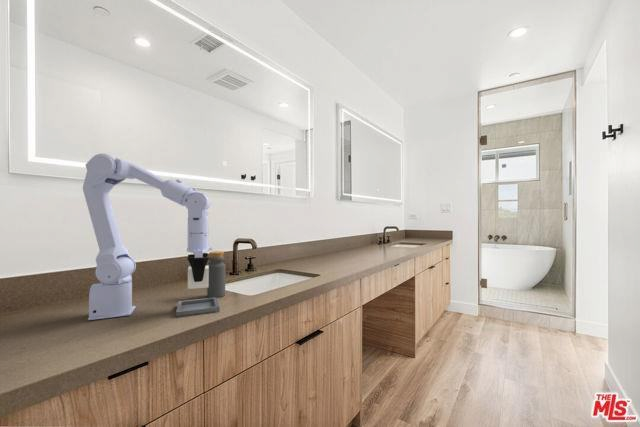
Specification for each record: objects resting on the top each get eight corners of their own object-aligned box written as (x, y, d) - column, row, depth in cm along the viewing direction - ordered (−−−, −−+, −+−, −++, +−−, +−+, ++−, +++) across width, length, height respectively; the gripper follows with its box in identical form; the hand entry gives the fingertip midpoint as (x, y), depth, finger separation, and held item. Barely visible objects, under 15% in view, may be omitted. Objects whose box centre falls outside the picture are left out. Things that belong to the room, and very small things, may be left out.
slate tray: (176, 317, 78) (176, 312, 78) (178, 306, 88) (178, 301, 88) (219, 311, 82) (219, 306, 82) (216, 301, 92) (216, 297, 92)
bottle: (208, 298, 95) (209, 253, 95) (205, 294, 100) (206, 251, 100) (226, 296, 98) (227, 252, 98) (223, 292, 103) (223, 250, 103)
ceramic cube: (187, 289, 81) (187, 269, 81) (188, 284, 87) (188, 266, 87) (208, 287, 83) (208, 268, 84) (208, 283, 89) (208, 265, 89)
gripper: (214, 234, 80) (214, 283, 80) (211, 231, 93) (211, 273, 93) (186, 234, 77) (186, 285, 77) (187, 232, 91) (187, 275, 90)
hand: (198, 279), depth 85 cm, fingers closed on ceramic cube, 6 cm apart
